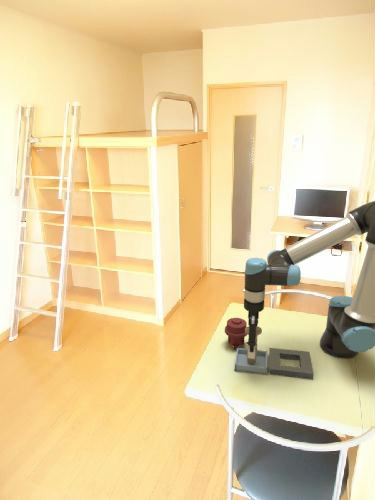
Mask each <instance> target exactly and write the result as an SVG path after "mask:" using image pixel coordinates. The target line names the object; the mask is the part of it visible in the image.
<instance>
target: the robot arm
mask: <svg viewBox="0 0 375 500" xmlns="http://www.w3.org/2000/svg"><path fill="white" fill-rule="evenodd" d="M364 234H366V236H365V240H364V241H365V243H366V244H367V246H368V247H367V249H366V253H365V257H364V259H363V263H362V266H361V270H360V272H359V276H358V279H357V283H356V286H355V289H354V292H353V295H352V296H346V295H336V296H333V297H331V298H330V299H329V302H328V308H327V309H328V310H327V317H326V324H325V325H326V328H325V330H324V332H323V333H322V335H321V336H320V339H319V346H320V349H321V350H322V351H324V353H326V354H328V355H329V356H332V357H335V358H339V359H340V358H341V359H350V358H354V357H356V356H357V355H358V354H359V353H363V352H368V351H369V350H372V349H373V348H374V347H375V200H374V201H370V202H367V203H364V204H363V205H360V206H357V208H354V209H352V210H350V211H349V212H347V213H346V215H345V217H343V218H341V219H339V220H337V221H335V222H333V223H332V224H330V225H327V226H325V227H324V228H322V229H319V230H318V231H316V232H314V233H312V234H310V235H308V236H307V237H304V238H302V239H301V240H298V241H296V242H295V243H293V244H291V245H289V246H287V247H285V248H283V249H281V250H278V249H274V250H271V251H270V252H269V253H268V254H267V257H266V259H264V258H259V257H251V258H248V259H247V260H246V262H245V269H244V289H243V290H242V292H243V293H244V296H243V307H244V310H245V311H247V318H248V322H247V323H248V327H249V335H248V338H249V342H248V341H246V345H247V346H248V358H251V359H255V346H256V342H255V339H256V326H258V325H259V318H260V315H259V314H260V312H262V311H263V310H264V309H265V299H266V286H277V287H279V286H280V287H281V286H283V287H293V286H299V284H300V283H301V278H302V277H301V274H302V273H301V267H300V266H299V265H298V264H299V263H301V262H303V261H305V260H307V259H309V258H311V257H314V256H316V255H318V254H320V253H322V252H324V251H326V250H327V249H330V248H331V247H333V246H336V245H337V244H339V243H342V242H344V241H345V240H348V239H350V238H352V237H354V236H355V235H357V236H361V235H364ZM266 260H267V261H266Z"/></svg>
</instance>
